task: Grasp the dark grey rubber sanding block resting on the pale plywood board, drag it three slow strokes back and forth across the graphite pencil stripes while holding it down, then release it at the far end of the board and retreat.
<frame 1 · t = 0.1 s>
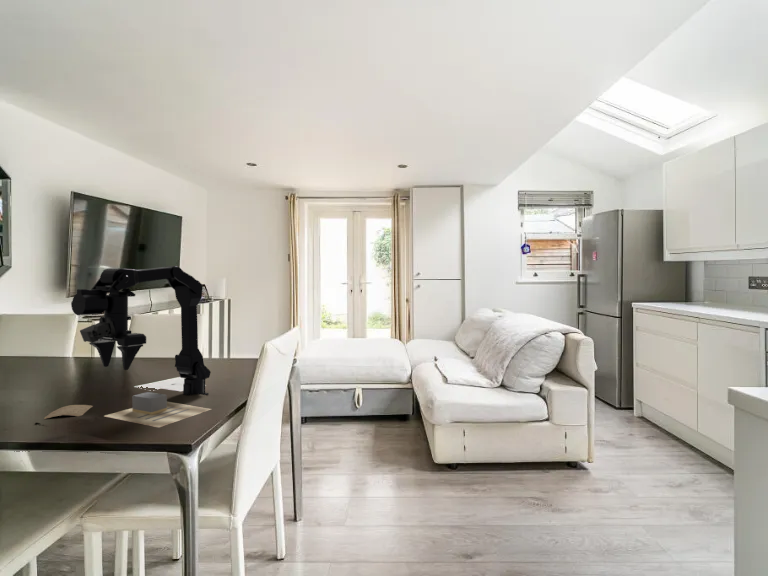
hand: (115, 368, 120), 14 cm above the table, tool pointing down, fingers open, 9 cm apart
clay tablet: (68, 419, 123), on the table
sanding block: (149, 410, 125), point 1 cm above the table, touching plywood board
paper sheet: (156, 390, 155), on the table
plywood board: (159, 416, 123), on the table
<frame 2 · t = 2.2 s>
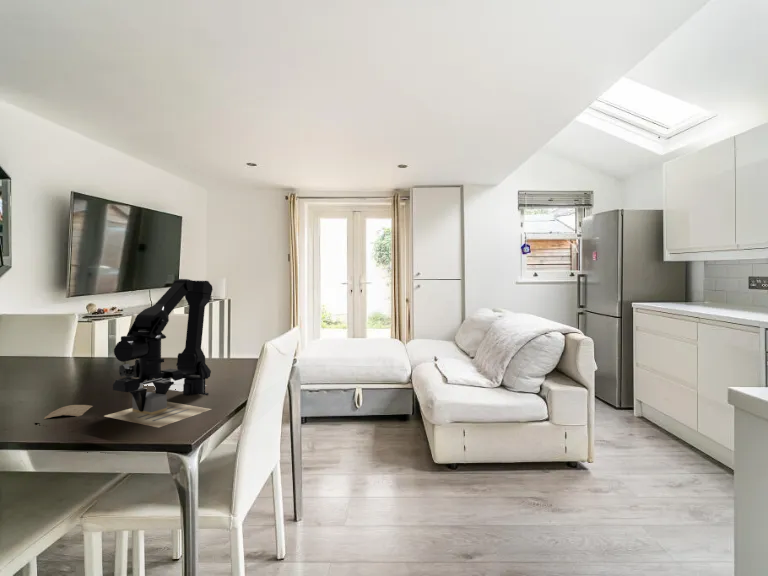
hand: (149, 408, 125), 2 cm above the table, tool pointing down, fingers closed on sanding block, 5 cm apart
sanding block: (149, 410, 125), point 1 cm above the table, touching gripper, plywood board
everything else where it was.
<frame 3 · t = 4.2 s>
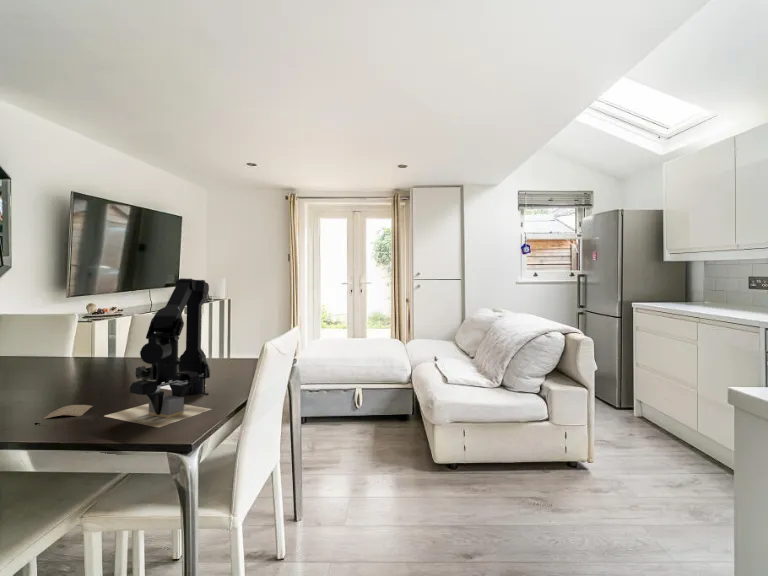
hand: (166, 412, 122), 2 cm above the table, tool pointing down, fingers closed on sanding block, 5 cm apart
sanding block: (166, 413, 122), point 1 cm above the table, touching gripper
everything else where it was.
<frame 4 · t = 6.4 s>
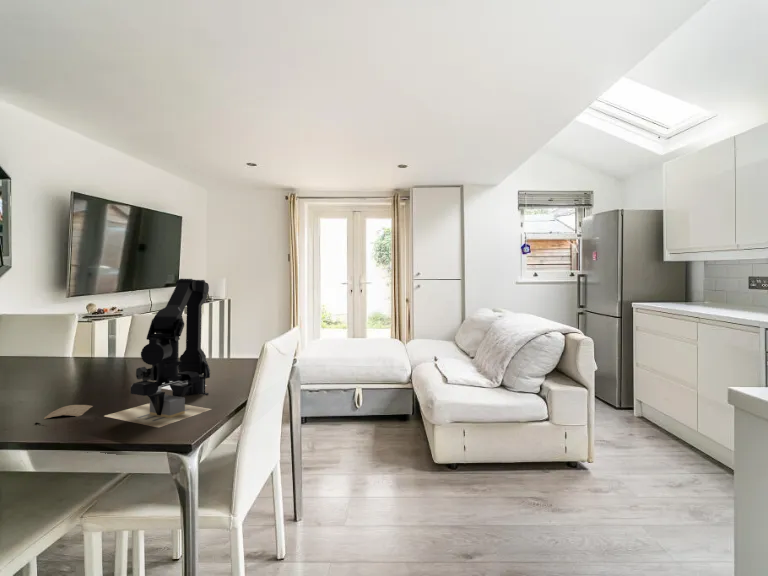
hand: (167, 412, 122), 2 cm above the table, tool pointing down, fingers closed on sanding block, 5 cm apart
sanding block: (167, 413, 122), point 1 cm above the table, touching gripper
everything else where it was.
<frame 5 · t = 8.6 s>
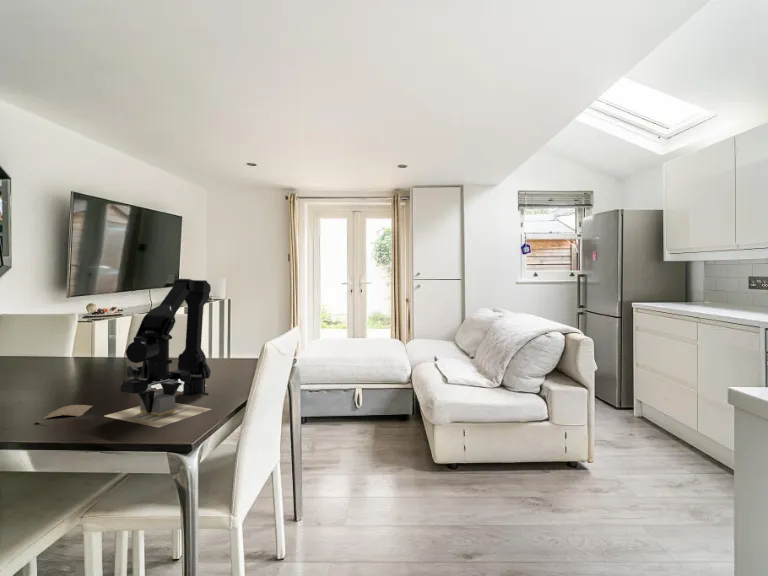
hand: (157, 410, 124), 2 cm above the table, tool pointing down, fingers closed on sanding block, 5 cm apart
sanding block: (157, 411, 124), point 1 cm above the table, touching gripper
everything else where it was.
when the fingers open (2 cm above the table, at t = 10.6 s): sanding block stays where it is, resting on plywood board.
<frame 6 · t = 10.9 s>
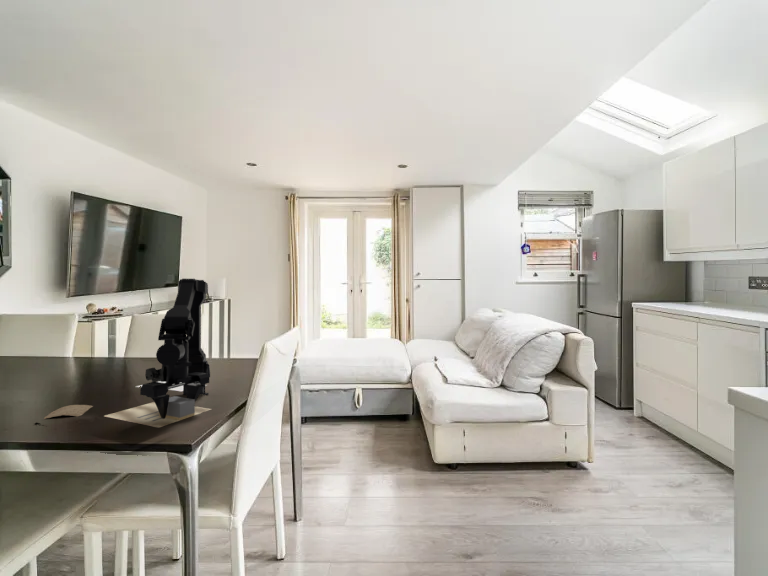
hand: (176, 414, 121), 2 cm above the table, tool pointing down, fingers open, 8 cm apart
sanding block: (177, 415, 121), point 1 cm above the table, touching plywood board
everything else where it was.
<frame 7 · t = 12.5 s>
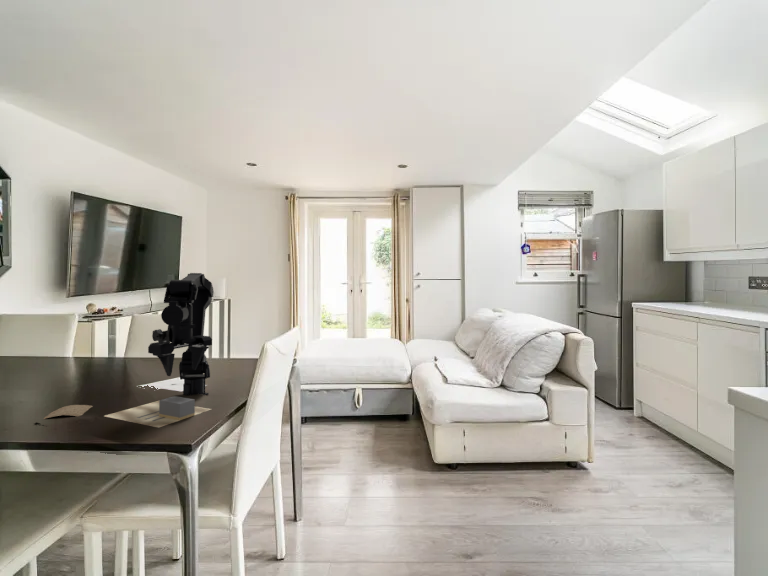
hand: (181, 372, 129), 12 cm above the table, tool pointing down, fingers open, 9 cm apart
nothing on the table moved.
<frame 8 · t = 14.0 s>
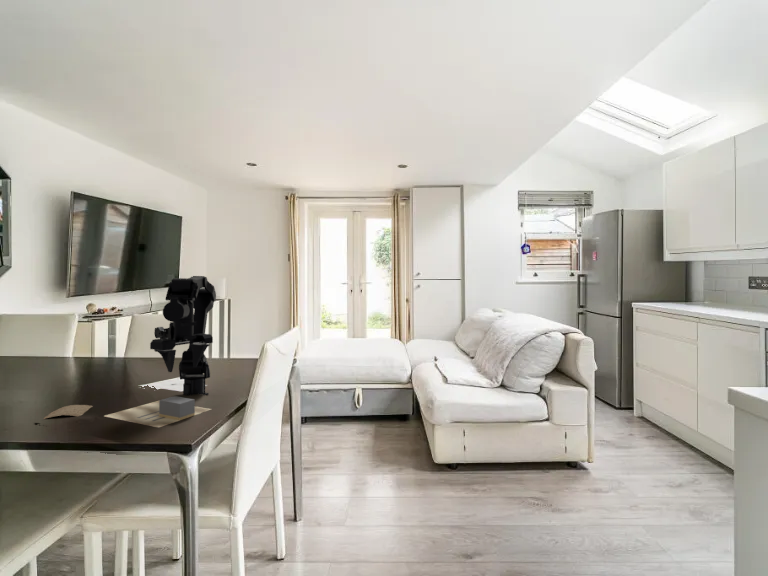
hand: (183, 369, 132), 12 cm above the table, tool pointing down, fingers open, 9 cm apart
nothing on the table moved.
at the end: sanding block inside the target area (0.2 cm from its centre), point 1.2 cm above the table; sanding block tilted 0°; the gripper is holding nothing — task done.
